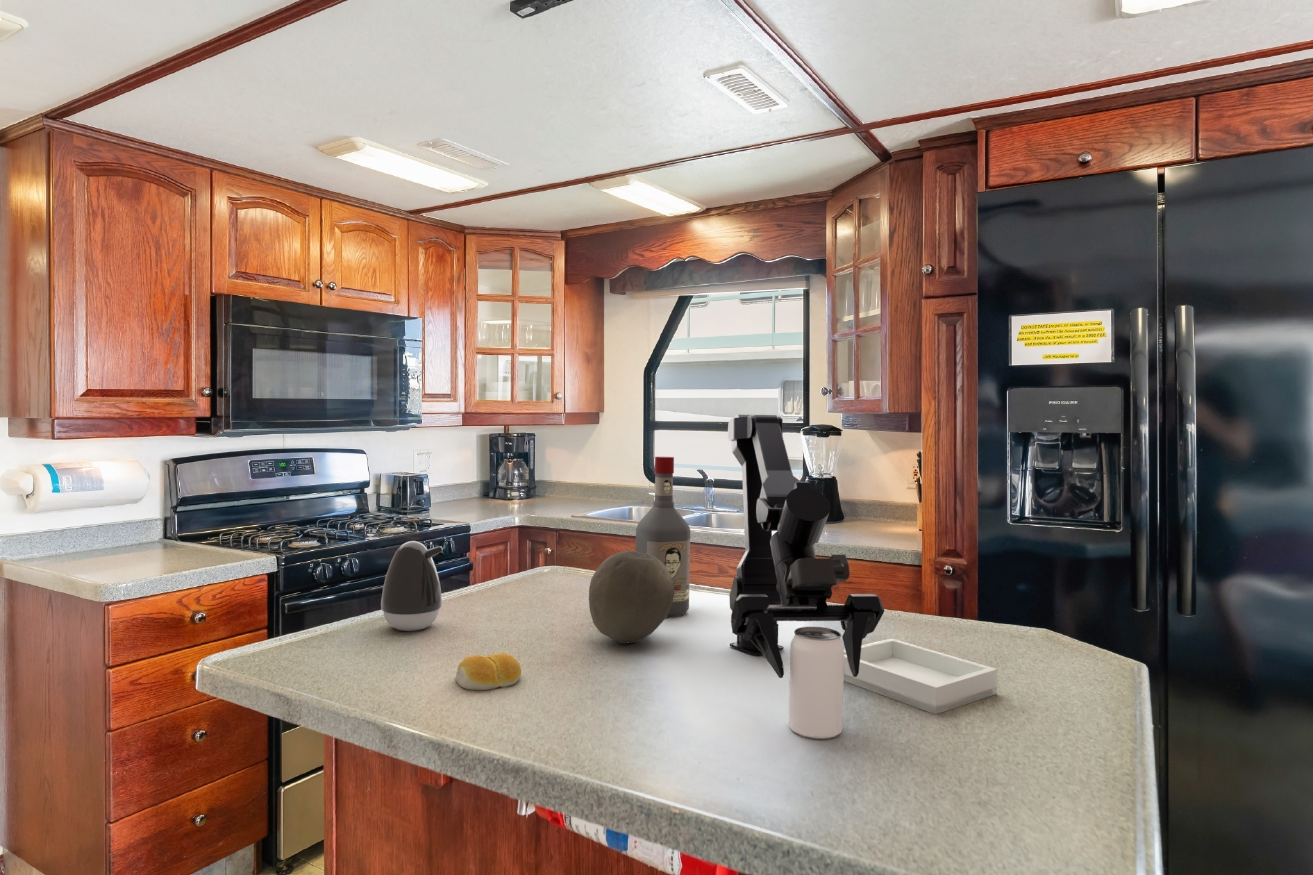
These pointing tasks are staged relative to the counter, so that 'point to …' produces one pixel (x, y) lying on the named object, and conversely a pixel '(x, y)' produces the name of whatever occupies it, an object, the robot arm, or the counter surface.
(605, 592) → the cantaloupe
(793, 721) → the can
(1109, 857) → the counter surface
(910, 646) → the tray
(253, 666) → the counter surface
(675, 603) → the liquor
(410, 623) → the pump dispenser
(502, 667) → the bread roll
